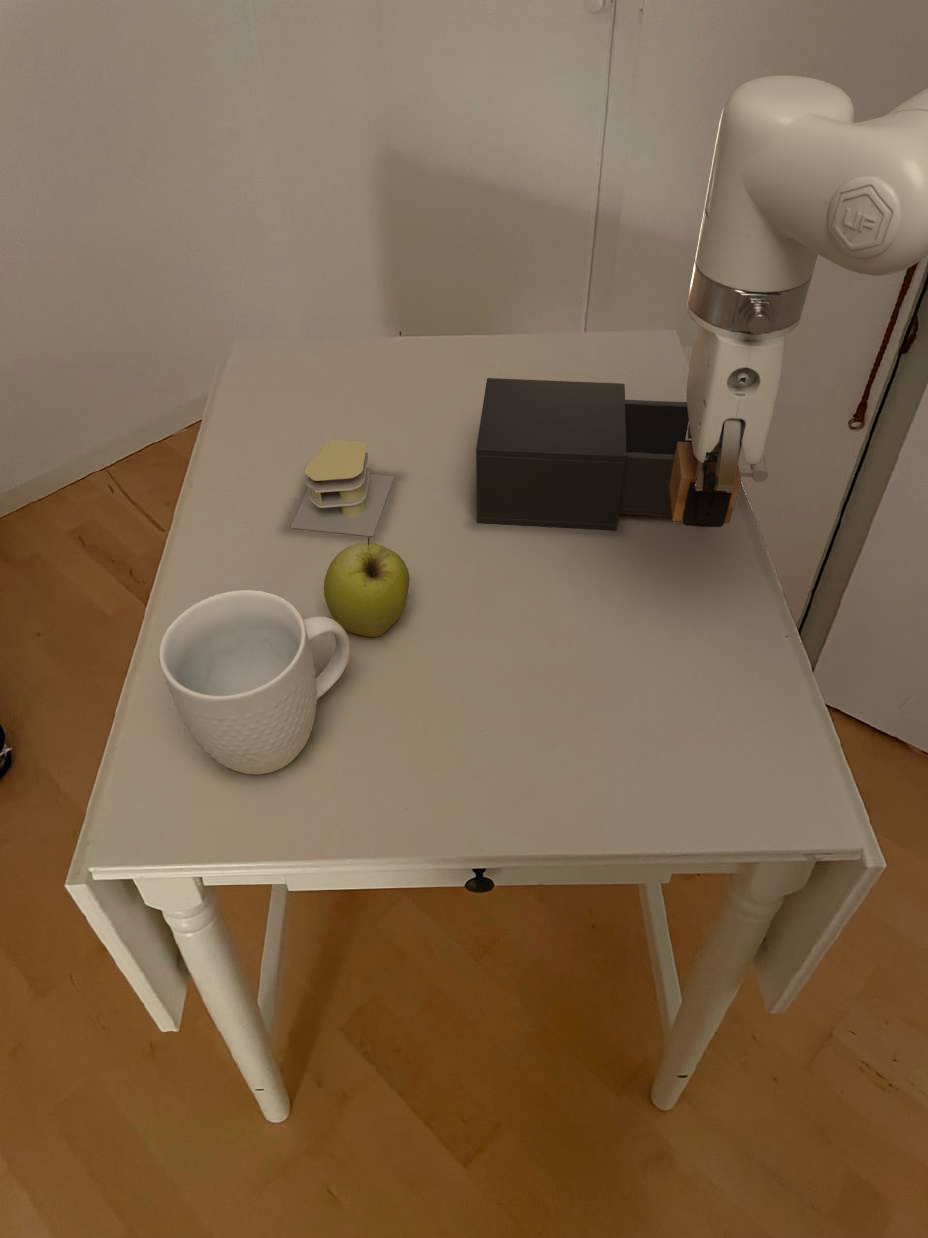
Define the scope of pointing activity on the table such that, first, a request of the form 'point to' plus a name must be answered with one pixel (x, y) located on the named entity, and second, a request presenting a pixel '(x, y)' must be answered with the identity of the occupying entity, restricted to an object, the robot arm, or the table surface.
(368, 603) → the apple
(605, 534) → the table surface
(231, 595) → the mug
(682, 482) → the block
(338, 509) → the stacked layers on plate
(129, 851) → the table surface
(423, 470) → the table surface
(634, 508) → the drawer
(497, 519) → the dark grey box
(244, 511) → the table surface
